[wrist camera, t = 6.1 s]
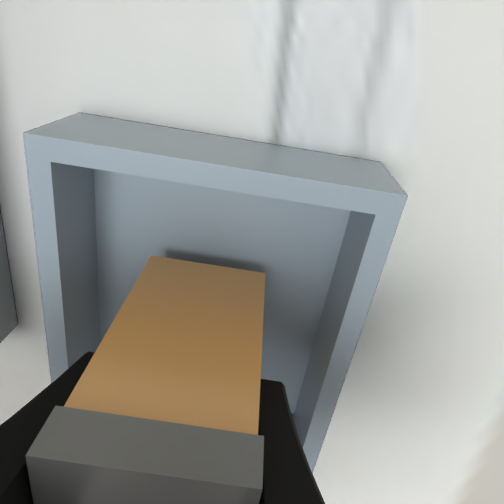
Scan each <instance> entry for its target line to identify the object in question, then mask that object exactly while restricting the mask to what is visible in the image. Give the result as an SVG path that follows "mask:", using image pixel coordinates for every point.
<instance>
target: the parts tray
mask: <svg viewBox="0 0 504 504" xmlns="http://www.w3.org/2000/svg"><path fill="white" fill-rule="evenodd" d="M23 137H24V146H25V155H26V163H27V172H28V181H29V190H30V199H31V208H32V216H33V225H34V234H35V243H36V252H37V260H38V269H39V278H40V287H41V296H42V304H43V313H44V322H45V331H46V340H47V348H48V357H49V366H50V375H51V383H52V382H53V381H55V380H56V379H57V378H58V377H59V376H60V375H61V374H63V373H64V372H65V371H66V370H67V369H68V368H69V367H70V366H72V365H73V364H74V363H75V362H76V361H77V360H78V359H79V358H81V357H82V356H83V355H84V354H85V353H87V352H88V351H89V352H96V350H97V348H98V346H99V345H100V343H101V341H102V339H103V338H104V336H105V334H106V333H107V331H108V329H109V327H110V326H111V324H112V322H113V321H114V319H115V317H116V315H117V314H118V312H119V310H120V308H121V307H122V305H123V303H124V302H125V300H126V298H127V296H128V295H129V293H130V291H131V289H132V288H133V286H134V284H135V283H136V281H137V279H138V277H139V276H140V274H141V272H142V270H143V269H144V267H145V265H146V264H147V262H148V260H149V258H150V257H151V255H152V256H159V257H165V258H172V259H178V260H185V261H191V262H198V263H204V264H211V265H217V266H224V267H230V268H237V269H243V270H249V271H256V272H262V273H265V295H264V316H263V338H262V360H261V379H266V380H273V381H279V382H282V383H283V384H284V386H285V390H286V395H287V399H288V403H289V407H290V411H291V414H292V417H293V421H294V424H295V427H296V430H297V433H298V436H299V439H300V442H301V445H302V448H303V450H304V453H305V456H306V458H307V461H308V464H309V466H310V469H311V472H312V473H313V470H314V467H315V464H316V461H317V458H318V455H319V452H320V450H321V447H322V444H323V441H324V438H325V435H326V432H327V429H328V426H329V423H330V421H331V418H332V415H333V412H334V409H335V406H336V403H337V400H338V397H339V394H340V391H341V389H342V386H343V383H344V380H345V377H346V374H347V371H348V368H349V365H350V362H351V360H352V357H353V354H354V351H355V348H356V345H357V342H358V339H359V336H360V333H361V330H362V328H363V325H364V322H365V319H366V316H367V313H368V310H369V307H370V304H371V301H372V298H373V296H374V293H375V290H376V287H377V284H378V281H379V278H380V275H381V272H382V269H383V267H384V264H385V261H386V258H387V255H388V252H389V249H390V246H391V243H392V240H393V237H394V235H395V232H396V229H397V226H398V223H399V220H400V217H401V214H402V211H403V208H404V205H405V203H406V200H407V197H408V195H407V194H406V193H405V191H404V190H403V189H402V188H401V186H400V185H399V184H398V183H397V181H396V180H395V179H394V178H393V176H392V175H391V174H390V173H389V172H388V170H387V169H386V168H385V167H384V165H383V164H382V163H381V162H377V161H371V160H365V159H359V158H353V157H347V156H341V155H335V154H329V153H322V152H316V151H310V150H304V149H298V148H292V147H286V146H280V145H274V144H268V143H262V142H255V141H249V140H243V139H237V138H231V137H225V136H219V135H213V134H207V133H201V132H194V131H188V130H182V129H176V128H170V127H164V126H158V125H152V124H146V123H140V122H134V121H127V120H121V119H115V118H109V117H103V116H97V115H91V114H85V113H77V114H74V115H71V116H68V117H65V118H63V119H60V120H57V121H54V122H52V123H49V124H46V125H43V126H40V127H38V128H35V129H32V130H29V131H26V132H24V133H23Z"/></svg>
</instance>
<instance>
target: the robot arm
mask: <svg viewBox="0 0 504 504" xmlns="http://www.w3.org/2000/svg"><path fill="white" fill-rule="evenodd" d="M94 353H95V352H89V351H88V352H87V353H85V354H84V355H83V356H82V357H81V358H79V359H78V360H77V361H76V362H75V363H74V364H73V365H72V366H70V367H69V368H68V369H67V370H66V371H65V372H64V373H63V374H61V375H60V376H59V377H58V378H57V379H56V380H55V381H53V382H52V383H51V384H50V385H49V386H48V387H47V388H45V389H44V390H43V391H42V392H41V393H40V394H38V395H37V396H36V397H35V398H33V399H32V400H31V401H30V402H29V403H27V404H26V405H25V406H24V407H23V408H21V409H20V410H19V411H18V412H17V413H15V414H14V415H13V416H12V417H10V418H9V419H8V420H7V421H5V422H4V423H3V424H1V425H0V504H34V503H33V497H32V491H31V486H30V480H29V474H28V468H27V462H26V456H25V455H26V454H27V452H28V450H29V449H30V447H31V445H32V444H33V442H34V440H35V439H36V437H37V435H38V434H39V432H40V430H41V429H42V427H43V426H44V424H45V422H46V421H47V419H48V417H49V416H50V414H51V412H52V411H53V409H54V407H55V406H62V407H64V405H65V403H66V402H67V400H68V398H69V396H70V395H71V393H72V391H73V390H74V388H75V386H76V384H77V383H78V381H79V379H80V377H81V376H82V374H83V372H84V371H85V369H86V367H87V365H88V364H89V362H90V360H91V358H92V357H93V355H94ZM258 435H261V436H264V456H263V489H262V493H261V497H260V501H259V504H325V502H324V500H323V498H322V495H321V493H320V491H319V489H318V486H317V484H316V481H315V479H314V477H313V474H312V472H311V469H310V466H309V464H308V461H307V458H306V456H305V453H304V450H303V448H302V445H301V442H300V439H299V436H298V433H297V430H296V427H295V424H294V421H293V417H292V414H291V411H290V407H289V403H288V399H287V395H286V390H285V386H284V384H283V383H282V382H279V381H273V380H266V379H261V381H260V403H259V425H258Z"/></svg>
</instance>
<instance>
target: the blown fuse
mask: <svg viewBox="0 0 504 504" xmlns="http://www.w3.org/2000/svg"><path fill="white" fill-rule="evenodd" d="M264 295H265V273H262V272H256V271H249V270H243V269H237V268H230V267H224V266H217V265H211V264H204V263H198V262H191V261H185V260H178V259H172V258H165V257H159V256H152V255H151V257H150V258H149V260H148V262H147V264H146V265H145V267H144V269H143V270H142V272H141V274H140V276H139V277H138V279H137V281H136V283H135V284H134V286H133V288H132V289H131V291H130V293H129V295H128V296H127V298H126V300H125V302H124V303H123V305H122V307H121V308H120V310H119V312H118V314H117V315H116V317H115V319H114V321H113V322H112V324H111V326H110V327H109V329H108V331H107V333H106V334H105V336H104V338H103V339H102V341H101V343H100V345H99V346H98V348H97V350H96V352H95V353H94V355H93V357H92V358H91V360H90V362H89V364H88V365H87V367H86V369H85V371H84V372H83V374H82V376H81V377H80V379H79V381H78V383H77V384H76V386H75V388H74V390H73V391H72V393H71V395H70V396H69V398H68V400H67V402H66V403H65V405H64V407H62V406H55V407H54V409H53V411H52V412H51V414H50V416H49V417H48V419H47V421H46V422H45V424H44V426H43V427H42V429H41V430H40V432H39V434H38V435H37V437H36V439H35V440H34V442H33V444H32V445H31V447H30V449H29V450H28V452H27V454H26V455H25V456H26V462H27V468H28V474H29V480H30V486H31V491H32V497H33V503H34V504H259V501H260V497H261V493H262V489H263V456H264V436H261V435H258V425H259V403H260V381H261V360H262V338H263V316H264Z"/></svg>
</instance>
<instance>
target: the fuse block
mask: <svg viewBox="0 0 504 504" xmlns="http://www.w3.org/2000/svg"><path fill="white" fill-rule="evenodd" d="M17 324H18V323H17V316H16V310H15V303H14V296H13V290H12V283H11V277H10V270H9V264H8V257H7V250H6V244H5V237H4V231H3V224H2V218H1V211H0V343H1V342H2V341H3V340H4V338H5V337H6V336H7V335H8V334H9V333H10V332H11V331H12V330H13V329H14V328H15V327H16V326H17Z"/></svg>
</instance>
